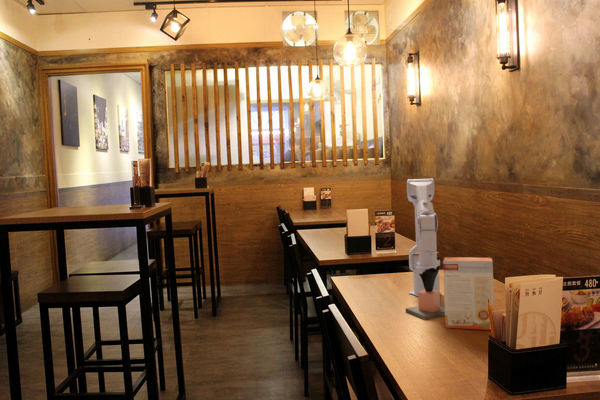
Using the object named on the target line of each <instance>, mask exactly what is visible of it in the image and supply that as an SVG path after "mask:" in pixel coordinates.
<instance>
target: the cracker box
mask: <svg viewBox="0 0 600 400" xmlns="http://www.w3.org/2000/svg"><path fill="white" fill-rule="evenodd" d="M442 262H443V263H442V264H443V265H442V266H443V292H444V293H443V295H444V297H443V298H444V307H445V316H444V320H445V321H444V323H445V328H447V329H462V330H463V329H465V330H479V331H481V330H482V331H483V330H484V331H491V330H490V322H489V314H488V299H489V300H490V301H491V303H492V305H493V307H494V308H495V302H494V300H495V299H494V297H495V296H494V295H495V294H494V261H493V258H492V257H472V256H471V257H468V256H467V257H461V256H459V257H458V256H457V257H453V256H452V257H451V256H449V257H447V256H445V257H443V261H442Z"/></svg>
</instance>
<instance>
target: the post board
mask: <svg viewBox="0 0 600 400" xmlns="http://www.w3.org/2000/svg"><path fill="white" fill-rule="evenodd" d="M405 313H407V314H410V315H412V316H415V317H417V318H419V319H422V320H430V319H435V318H439V317H445V305H441V304H440V309H438V310H437V311H435V312H428V311H422V310H419V305H415V306H410V307H406V308H405Z"/></svg>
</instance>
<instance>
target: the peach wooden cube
mask: <svg viewBox="0 0 600 400" xmlns="http://www.w3.org/2000/svg"><path fill="white" fill-rule="evenodd" d="M440 292H441V290H440V291H438V290H433V291H431V292H429V291H425V289H424V290H422V291H420V292H418V296H417V297H418V306H419V310H422V311H428V312H435V311H437V310H438V309H440V305H441V300H440V299H441V298H440V295H441V294H440Z"/></svg>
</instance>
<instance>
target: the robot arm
mask: <svg viewBox="0 0 600 400" xmlns="http://www.w3.org/2000/svg"><path fill="white" fill-rule="evenodd" d="M435 189H436V188H435V180H434V178H432V177H431V178H413V179H412V178H411V179H410V178H408V179H407V181H406V196H407V199H408V200H407V201H409V202H411V203H412V205H413V207H414V222H415V223H414V224H415V225H414V226H415V245H414V246H413V247H412V248H410V250H409V252H408V253H409V254H408V265H409V270H410V271H412V275H413V276H412V277H413V278H412V281H413V290H412V291H409V292H408V293H409V294H410V295H414V296H417V297H418V292H420V291H422V290H424V289H425V291H429V292H431V291H433V290H438V291H440V295H441V294H442V292H441V285H440V284H441V283H440V282H441V281H440V275H439V271H440V270H439V269H438V267H439V266H441V260H440V259H438V256H437V255H438V253H437V251H438V250H437V232H438V227H439V225H438V224H439V223H438V222H439V221H438V216H437V214H436V212H435V210H434V205H433V202H431V201H433V198H434V195H435Z"/></svg>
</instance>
